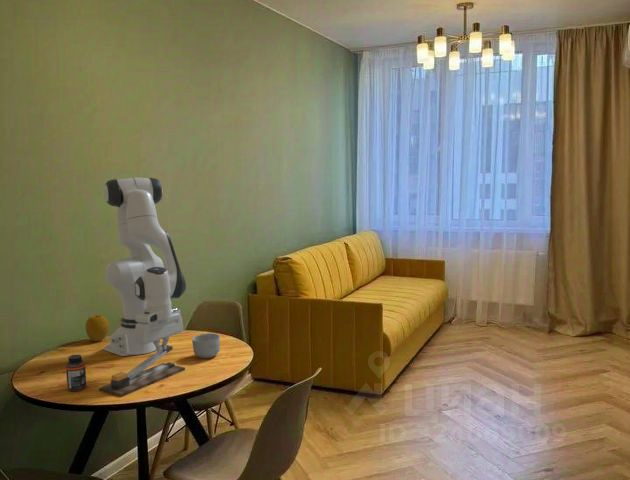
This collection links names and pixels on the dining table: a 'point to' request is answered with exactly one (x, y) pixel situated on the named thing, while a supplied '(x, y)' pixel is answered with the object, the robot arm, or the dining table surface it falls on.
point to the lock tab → (119, 376)
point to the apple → (97, 327)
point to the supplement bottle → (76, 373)
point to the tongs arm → (148, 362)
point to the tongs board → (141, 379)
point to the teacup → (206, 345)
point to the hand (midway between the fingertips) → (161, 350)
